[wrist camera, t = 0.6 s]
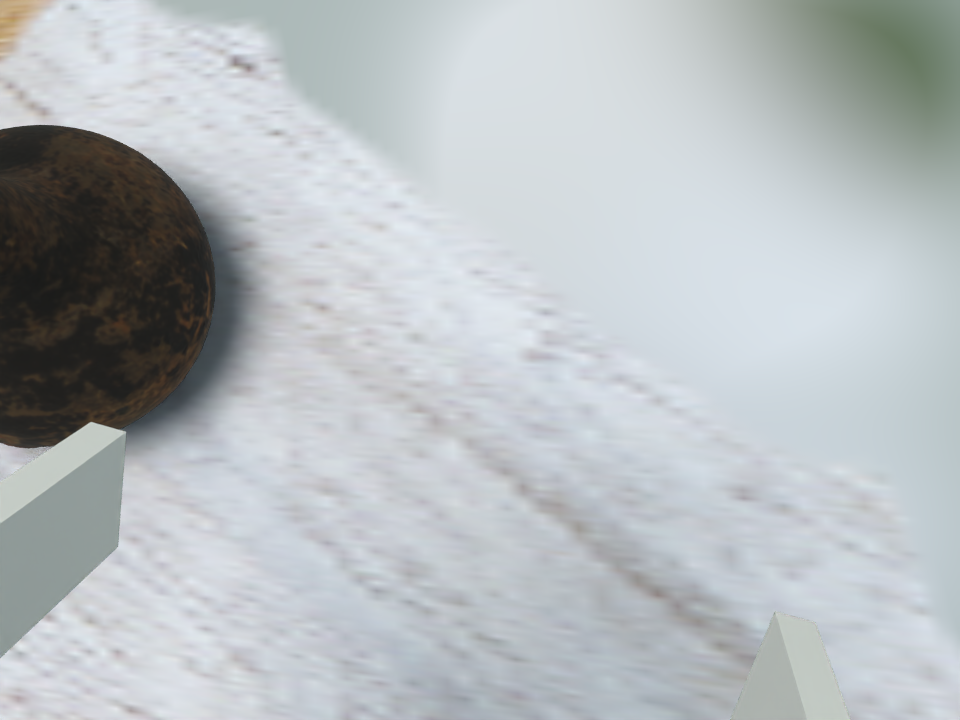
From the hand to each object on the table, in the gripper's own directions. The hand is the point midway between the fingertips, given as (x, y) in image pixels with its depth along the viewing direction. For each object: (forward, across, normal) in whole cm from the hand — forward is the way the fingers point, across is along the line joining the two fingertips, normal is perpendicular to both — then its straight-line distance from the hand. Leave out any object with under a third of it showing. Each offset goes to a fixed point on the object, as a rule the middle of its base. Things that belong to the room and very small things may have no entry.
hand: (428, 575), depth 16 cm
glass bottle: (+33, +27, +11) cm, 44 cm away
